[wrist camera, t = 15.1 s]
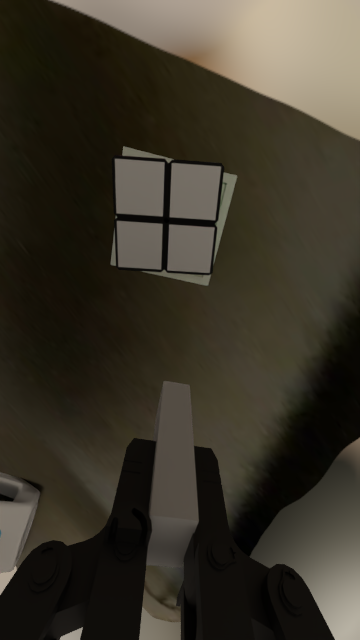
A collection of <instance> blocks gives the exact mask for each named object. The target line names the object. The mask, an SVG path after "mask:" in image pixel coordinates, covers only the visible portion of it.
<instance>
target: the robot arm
mask: <svg viewBox="0 0 360 640" xmlns="http://www.w3.org/2000/svg"><path fill="white" fill-rule="evenodd" d="M183 562H184V581H183V584H182V586H181V589H180V591H179V594H178V597H177V604H176V606H180V604H181V640H335V639H334V637H333V635H332V633H331V631H330V629H329V627H328V625H327V623H326V622H325V620H324V618H323V616H322V614H321V612H320V610H319V608H318V606H317V604H316V602H315V600H314V598H313V596H312V594H311V592H310V590H309V588H308V587H307V585H306V584H305V582H304V581H303V579H302V578H301V577H300V576H299V574H298V573H296V572H295V570H294V569H292V568H290V567H288V566H286V565H285V564H276V565H275V566H273V567H272V568H268V567H266V566H264V565H263V564H261V563H259V562H257V561H255V560H253V559H252V558H250V557H248V556H247V555H246V554H244V553H243V552H242V551H241V550H240V549H239V548H238V546H237V545H236V543H235V542H234V540H233V538H232V536H231V534H230V530H229V526H228V521H227V515H226V509H225V503H224V497H223V490H222V485H221V478H220V475H219V466H218V460H217V458H216V456H215V454H214V453H213V451H212V449H211V448H204V447H197V446H194V441H193V426H192V411H191V396H190V385H187V384H181V383H174V382H168V381H163V386H162V391H161V396H160V401H159V405H158V410H157V415H156V421H155V429H154V437H153V441H151V440H144V439H137V438H134V439H133V440H132V442H131V443H130V444H129V446H128V447H127V449H126V454H125V458H124V462H123V466H122V471H121V475H120V479H119V483H118V487H117V492H116V496H115V500H114V504H113V508H112V513H111V515H110V517H109V519H108V521H107V524H106V526H105V527H104V528H103V529H102V530H101V531H100V533H98V534H97V535H96V536H94V537H93V538H90V539H88V540H86V541H83V542H79V543H76V544H73V545H69V546H67V545H65V544H64V543H63V542H61V541H55V540H52V541H49V542H45V543H42V544H41V545H40V546H38V547H37V548H35V549H34V550H32V551H31V553H30V554H29V555H28V556H27V557H26V558H25V560H24V561H23V562H22V564H21V565H20V567H19V568H18V570H17V571H16V573H15V574H14V576H13V577H12V579H11V580H10V582H9V583H8V585H7V586H6V588H5V589H4V591H3V592H2V594H1V595H0V640H60V637H61V636H63V635H65V634H68V633H70V632H72V631H75V630H77V629H79V628H81V627H83V630H82V634H81V638H80V640H139V634H140V623H141V613H142V603H143V592H144V582H145V571H146V565H154V566H164V567H173V568H181V567H182V564H183Z"/></svg>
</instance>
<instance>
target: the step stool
mask: <svg viewBox="0 0 360 640" xmlns="http://www.w3.org/2000/svg"><path fill="white" fill-rule="evenodd" d="M0 494H3V495H5V496H8V497H10V498H13V499H14V500H13V502H8V501H0V573H3V572H10V571H12V570H13V569H14V567H15V565H16V563H17V561H18V559H19V557H20V555H21V553H22V550H23V548H24V545H25V542H26V540H27V537H28V534H29V531H30V528H31V525H32V522H33V519H34V516H35V513H36V510H37V506H38V500H39V496H40V492H39V490H38V489H36V488H35V487H33V486H32V485H30V484H29V483H28V482H26V481H25V480H23V479H22V478H19V477H16V476H12V475H8V474H4V473H1V472H0Z"/></svg>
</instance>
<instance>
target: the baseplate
mask: <svg viewBox="0 0 360 640" xmlns="http://www.w3.org/2000/svg"><path fill="white" fill-rule="evenodd" d="M122 156H135V157H149V158H162V159H166V161H167V162H168V163H169V162H170V161H171V160H174V159H170V158H166V157H162V156H159V155H155V154H151V153H147V152H143V151H139V150H135V149H131V148H128V147H124V146H123V155H122ZM236 179H237V176H236V175H232V174H228V173H224V175H223V184H222V193H221V202H220V210H219V219H218V221H217V222H216V223H215V225H216V226H217V237H216V246H215V255H214V261H215V257H216V254H217V250H218V246H219V242H220V239H221V235H222V231H223V227H224V224H225V220H226V216H227V213H228V209H229V205H230V201H231V198H232V194H233V190H234V186H235V183H236ZM116 218H117V216H116ZM111 265H115V266H116V254H115V228H114V238H113V247H112V256H111ZM213 265H214V263H213ZM142 272H147V273H151V274H156V275H160V276H165V277H169V278H174V279H179V280H183V281H188V282H192V283H197V284H201V285H206V286H208V283H209V280H210V276H211V274H210V275H209V276H208V275H193V274H177V273H167V272H166V271H165V270H163V271H162V272H148V271H142Z"/></svg>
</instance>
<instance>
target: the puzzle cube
mask: <svg viewBox="0 0 360 640" xmlns="http://www.w3.org/2000/svg"><path fill="white" fill-rule="evenodd" d="M112 175H113V201H114V214H115V215H116V216H117V218H116V219H115V220H114V228H115V254H116V267H117V268H118V269H119V270H132V271H148V272H162V271H163V270H165V271H166V272H167V273H177V274H193V275H208V276H209V275H210V274H211V273H212V272H213V263H214V255H215V246H216V237H217V226H216V225H215V223H216V222H217V221H218V219H219V210H220V202H221V193H222V184H223V175H224V166H223V165H222V163H213V162H199V161H185V160H171V161H170V162H169V163H168V162H167V161H166V159H162V158H149V157H135V156H121V155H115V156H114V157H113V158H112Z"/></svg>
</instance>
